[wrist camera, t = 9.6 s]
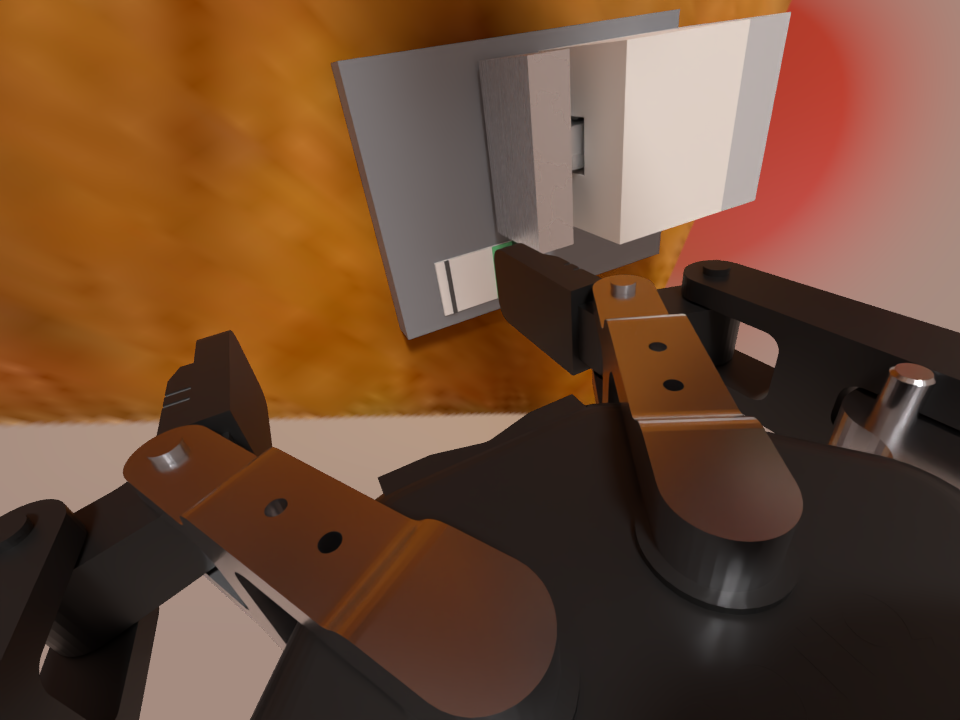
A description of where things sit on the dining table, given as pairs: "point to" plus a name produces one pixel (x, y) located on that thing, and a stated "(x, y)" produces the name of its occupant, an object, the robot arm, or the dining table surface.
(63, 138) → the dining table surface
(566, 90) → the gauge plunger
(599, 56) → the stand
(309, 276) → the dining table surface
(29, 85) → the dining table surface
